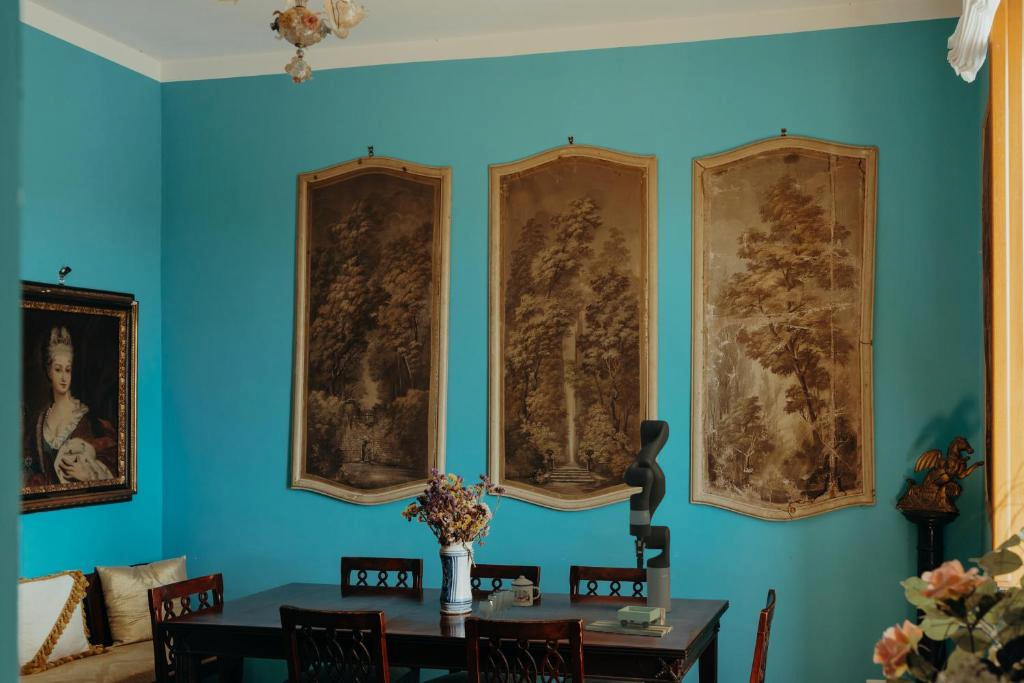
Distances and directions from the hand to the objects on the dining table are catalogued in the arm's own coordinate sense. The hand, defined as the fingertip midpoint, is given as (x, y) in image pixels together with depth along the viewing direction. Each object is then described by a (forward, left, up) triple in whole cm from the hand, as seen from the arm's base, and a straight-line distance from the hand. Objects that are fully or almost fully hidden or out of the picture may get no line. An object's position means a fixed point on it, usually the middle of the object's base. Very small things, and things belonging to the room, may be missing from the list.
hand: (640, 566), depth 391 cm
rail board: (+10, -1, -21) cm, 23 cm away
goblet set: (+26, -45, -22) cm, 57 cm away
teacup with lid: (-23, -57, -22) cm, 65 cm away
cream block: (-3, +5, -21) cm, 22 cm away
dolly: (+10, +2, -19) cm, 22 cm away
